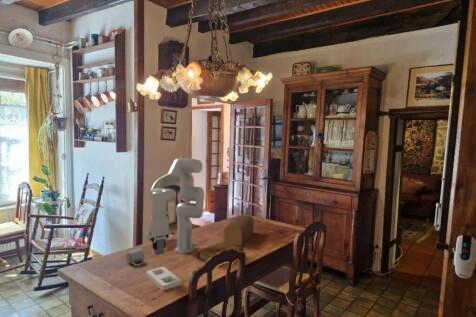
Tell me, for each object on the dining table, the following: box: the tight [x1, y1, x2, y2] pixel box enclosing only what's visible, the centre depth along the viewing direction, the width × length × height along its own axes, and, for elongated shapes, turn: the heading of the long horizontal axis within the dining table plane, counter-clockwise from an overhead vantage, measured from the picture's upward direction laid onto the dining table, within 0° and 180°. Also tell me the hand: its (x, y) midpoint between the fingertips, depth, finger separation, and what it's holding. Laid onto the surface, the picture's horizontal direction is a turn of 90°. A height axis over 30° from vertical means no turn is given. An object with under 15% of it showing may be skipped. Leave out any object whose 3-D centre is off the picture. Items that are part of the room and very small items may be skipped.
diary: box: [196, 241, 245, 267], centre depth 190 cm, size 23×19×6 cm
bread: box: [223, 214, 254, 247], centre depth 227 cm, size 14×34×14 cm, turn 163°
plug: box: [153, 236, 165, 256], centre depth 162 cm, size 4×4×9 cm
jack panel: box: [145, 266, 182, 291], centre depth 158 cm, size 10×20×2 cm, turn 39°
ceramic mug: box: [125, 247, 145, 267], centre depth 178 cm, size 11×8×8 cm
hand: (159, 247), depth 162 cm, fingers closed on plug, 4 cm apart
